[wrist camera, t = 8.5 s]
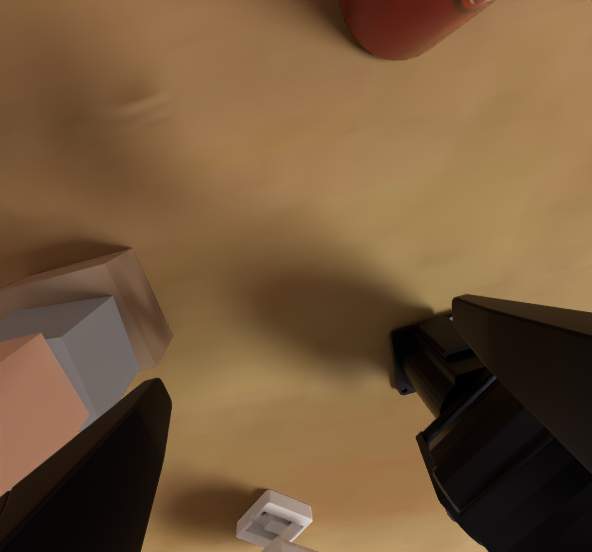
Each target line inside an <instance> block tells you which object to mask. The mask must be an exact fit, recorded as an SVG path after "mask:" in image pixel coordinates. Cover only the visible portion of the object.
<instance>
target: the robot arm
mask: <svg viewBox="0 0 592 552" xmlns="http://www.w3.org/2000/svg"><path fill="white" fill-rule="evenodd" d="M396 335H398V337H396V338H395V336H396ZM390 341H391V349H392V356H393V363H394V370H395V378H396V385H397V390H398V392H399V393H400V394H401V395H407V394H410V393H414V392H417V394H418V395H419V396H420V398H421V399H422V400H423V402H424V403H425V404H426V406H427V407H428V409H429V410H430V411H431V413H432V414H433V415H434V417H435V418H436V419H435V420H434V421H433V422H432V423H431V424H430V425H429V426H428V427H427V428H426V429H425V430H424V431H423V432H422V431H421V432H420V433H419V434H418V435H417V436H416V440H417V443H418V445H419V448H420V451H421V454H422V457H423V459H424V462H425V465H426V468H427V470H428V473H429V476H430V478H431V481H432V484H433V487H434V489H435V492H436V495H437V497H438V500H439V501H440V503H441V504H442V505H443V506H444V508H445V509H446V512H447V514H448V516H449V517H450V518H451V519H452V520H453V521H454V522H457V523H458V524H459V526H460V527H461V528H462V529H463V530H464V531H465V532H466V533H467V534H468V535H469V536H470V537H471V538H472V539H474V540H475V541H476V542H477V543H478V544H480V545H482V546H484V547H485V548H486V549H487V550H488V552H592V313H591V312H585V311H578V310H571V309H564V308H558V307H551V306H544V305H537V304H531V303H524V302H517V301H510V300H504V299H497V298H490V297H483V296H477V295H470V294H465V295H461V296H457V297H454V298H453V300H452V314H451V315H447V316H442V317H438V318H434V319H431V320H427V321H423V322H420V323H417V324H414V325H411V326H407V327H403V328H400V329H396V330H393V331H392V332H391V334H390ZM404 388H405V389H404ZM402 389H403V390H402ZM171 410H172V401H171V398H170V396H169V394H168V392H167V390H166V388H165V386H164V384H163V382H162V380H161V379H160V378H154V379H150V380H146V381H144V382H142V383H141V384H140V385H139V386H137V387H136V388H135V389H134V390H132V391H131V392H130V393H129V394H128V395H126V396H125V397H124V398H123V399H121V400H120V401H119V402H118V403H116V404H115V405H114V406H113V407H111V408H110V409H109V410H108V411H106V412H105V413H104V414H103V415H101V416H100V417H99V418H98V419H96V420H95V421H94V422H93V423H91V424H90V425H89V426H88V427H86V428H85V429H84V430H83V431H82V432H80V433H79V434H78V435H77V436H75V437H74V438H73V439H72V440H70V441H69V442H68V443H67V444H65V445H64V446H63V447H62V448H60V449H59V450H58V451H57V452H55V453H54V454H53V455H52V456H50V457H49V458H48V459H47V460H45V461H44V462H43V463H42V464H40V465H39V466H38V467H37V468H36V469H34V470H33V471H32V472H31V473H29V474H28V475H27V476H26V477H24V478H23V479H22V480H21V481H19V482H18V483H17V484H16V485H14V486H13V487H12V489H11V490H9V491H7V492H6V493H4V494H3V495H2V496H1V497H0V552H141V549H142V545H143V541H144V537H145V533H146V529H147V525H148V521H149V517H150V513H151V509H152V505H153V501H154V497H155V494H156V490H157V486H158V482H159V478H160V474H161V470H162V466H163V461H164V456H165V451H166V444H167V437H168V430H169V424H170V417H171Z"/></svg>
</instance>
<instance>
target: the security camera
mask: <svg viewBox="0 0 592 552" xmlns="http://www.w3.org/2000/svg"><path fill="white" fill-rule="evenodd" d="M263 512H266V513H263ZM312 521H313V520H312V513H311V507H310V506H309V505H307V504H304V503H302V502H299V501H297V500H295V499H292V498H290V497H287V496H285V495H282V494H280V493H278V492H275V491H273V490H270V489H268V490H266V491H265V492H264V493H263V495H262V496H261V497H260V498H259V499H258V500H257V501H256V502H255V503H254V504H253V505H252V506H251V507H250V509H249V510H248V511H247V512H246V513H245V514H244V515H243V516H242V517H241V518H240V519H239V520H238V522H237V532H236V538H238V539H241V540H244V541H247V542H250V543H253V544H256V545H259V546H262V547H265V549H264V550H263V551H262V552H317V551H315V550H312V549H309V548H306V547H303V546H300V545H298V544H295V543H292V541H293V540H294V539H295V538H296V537H297V536H298V535H299V534H300V533H301V532H302V531H303V530H304V529H305V528H306V527H307V526H308V525H309V524H310V523H311V522H312Z"/></svg>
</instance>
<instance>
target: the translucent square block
mask: <svg viewBox="0 0 592 552" xmlns="http://www.w3.org/2000/svg"><path fill="white" fill-rule="evenodd" d="M107 296H113V297H114V300H115V303H116V306H117V308H118V311H119V314H120V316H121V319H122V322H123V324H124V327H125V330H126V332H127V335H128V338H129V341H130V343H131V346H132V349H133V351H134V354H135V357H136V359H137V362H138V365H139V368H140V369H139V371H143V370H146V369H150V368H153V367H157V365H158V363H159V361H160V360H161V358H162V356H163V354H164V352H165V350H166V349H167V347H168V345H169V343H170V341H171V339H172V337H173V335H172V332H171V330H170V328H169V326H168V324H167V322H166V319H165V317H164V315H163V313H162V311H161V309H160V306H159V304H158V302H157V300H156V298H155V296H154V293H153V291H152V289H151V287H150V285H149V283H148V281H147V278H146V276H145V274H144V272H143V270H142V268H141V265H140V263H139V261H138V259H137V257H136V255H135V252H134V250H133V248H131V249H127V250H123V251H120V252H116V253H112V254H108V255H105V256H101V257H97V258H94V259H90V260H86V261H83V262H79V263H75V264H71V265H68V266H64V267H60V268H57V269H53V270H49V271H46V272H42V273H38V274H34V275H31V276H27V277H25V278H23V279H20V280H18V281H16V282H13V283H11V284H9V285H6V286H4V287H2V288H0V321H1V320H3V319H5V318H7V317H8V316H10V315H12V314H14V313H16V312H17V311H19V310H24V309H30V308H37V307H43V306H50V305H56V304H62V303H69V302H75V301H82V300H88V299H94V298H101V297H107ZM139 371H138V372H139Z"/></svg>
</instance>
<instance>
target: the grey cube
mask: <svg viewBox="0 0 592 552" xmlns="http://www.w3.org/2000/svg"><path fill="white" fill-rule="evenodd" d="M38 333H42V335H43V337H44V338H45V340H46V342H47V343H48V345H49V347H50V348H51V350H52V352H53V354H54V355H55V357H56V359H57V360H58V362H59V364H60V365H61V367H62V369H63V370H64V372H65V374H66V375H67V377H68V379H69V380H70V382H71V384H72V385H73V387H74V389H75V391H76V392H77V394H78V396H79V397H80V399H81V401H82V402H83V404H84V406H85V407H86V409H87V411H88V413H89V414H90V415H89V416H88V418H87V419H86V421H85V422H84V423H83V425H82V426H81V428H80V429H79V430H78V432H82V431H83V430H84V429H85V428H86V427H88V426H89V425H90V424H91V423H93V422H94V421H95V420H96V419H98V418H99V417H100V416H101V415H103V414H104V413H105V412H106V411H108V410H109V409H110V408H111V407H113V406H114V405H115V404H116V403H118V402H119V401H120V400H121V398H122V396H123V395H124V393H125V392H126V390H127V388H128V387H129V385H130V384H131V382H132V380H133V379H134V377H135V376H136V374H137V372H138V371H139V369H140V368H139V365H138V362H137V359H136V357H135V354H134V351H133V349H132V346H131V343H130V341H129V338H128V335H127V332H126V330H125V327H124V324H123V322H122V319H121V316H120V314H119V311H118V308H117V306H116V303H115V300H114V297H113V296H107V297H101V298H94V299H88V300H82V301H75V302H69V303H62V304H56V305H50V306H43V307H37V308H30V309H24V310H19V311H17V312H16V313H14V314H12V315H10V316H8V317H7V318H5V319H3V320H1V321H0V342H3V341H7V340H11V339H16V338H20V337H24V336H29V335H33V334H38Z"/></svg>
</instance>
